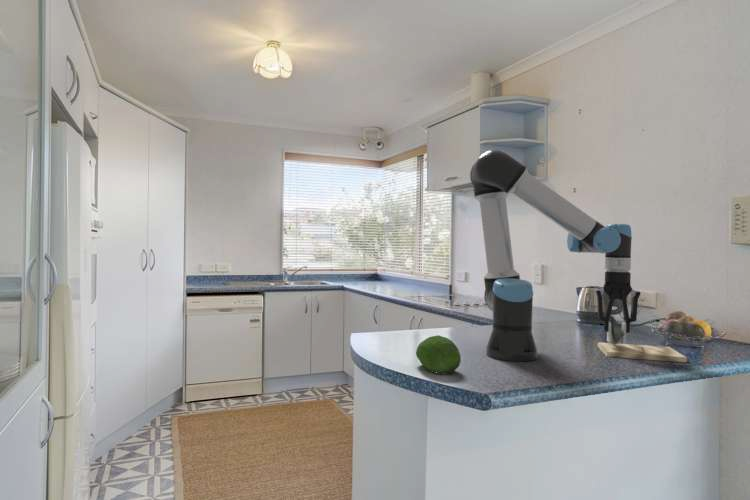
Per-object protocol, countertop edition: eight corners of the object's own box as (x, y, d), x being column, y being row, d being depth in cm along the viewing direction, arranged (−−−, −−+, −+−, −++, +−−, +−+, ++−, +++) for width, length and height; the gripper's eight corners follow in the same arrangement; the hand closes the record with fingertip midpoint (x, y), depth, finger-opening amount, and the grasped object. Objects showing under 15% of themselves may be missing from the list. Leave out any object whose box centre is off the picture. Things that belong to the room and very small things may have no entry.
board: (606, 356, 148) (607, 351, 148) (597, 346, 164) (597, 342, 164) (686, 362, 142) (686, 357, 142) (669, 351, 158) (669, 346, 158)
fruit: (407, 367, 131) (407, 331, 131) (438, 364, 134) (439, 329, 134) (433, 381, 117) (434, 341, 117) (467, 378, 120) (468, 339, 120)
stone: (625, 350, 149) (627, 319, 149) (611, 349, 150) (613, 318, 150) (618, 344, 160) (620, 314, 159) (605, 342, 161) (607, 313, 160)
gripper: (592, 270, 153) (590, 342, 153) (649, 272, 149) (647, 346, 149) (588, 269, 161) (586, 338, 161) (643, 271, 156) (641, 341, 156)
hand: (616, 341), depth 155 cm, fingers closed on stone, 4 cm apart
